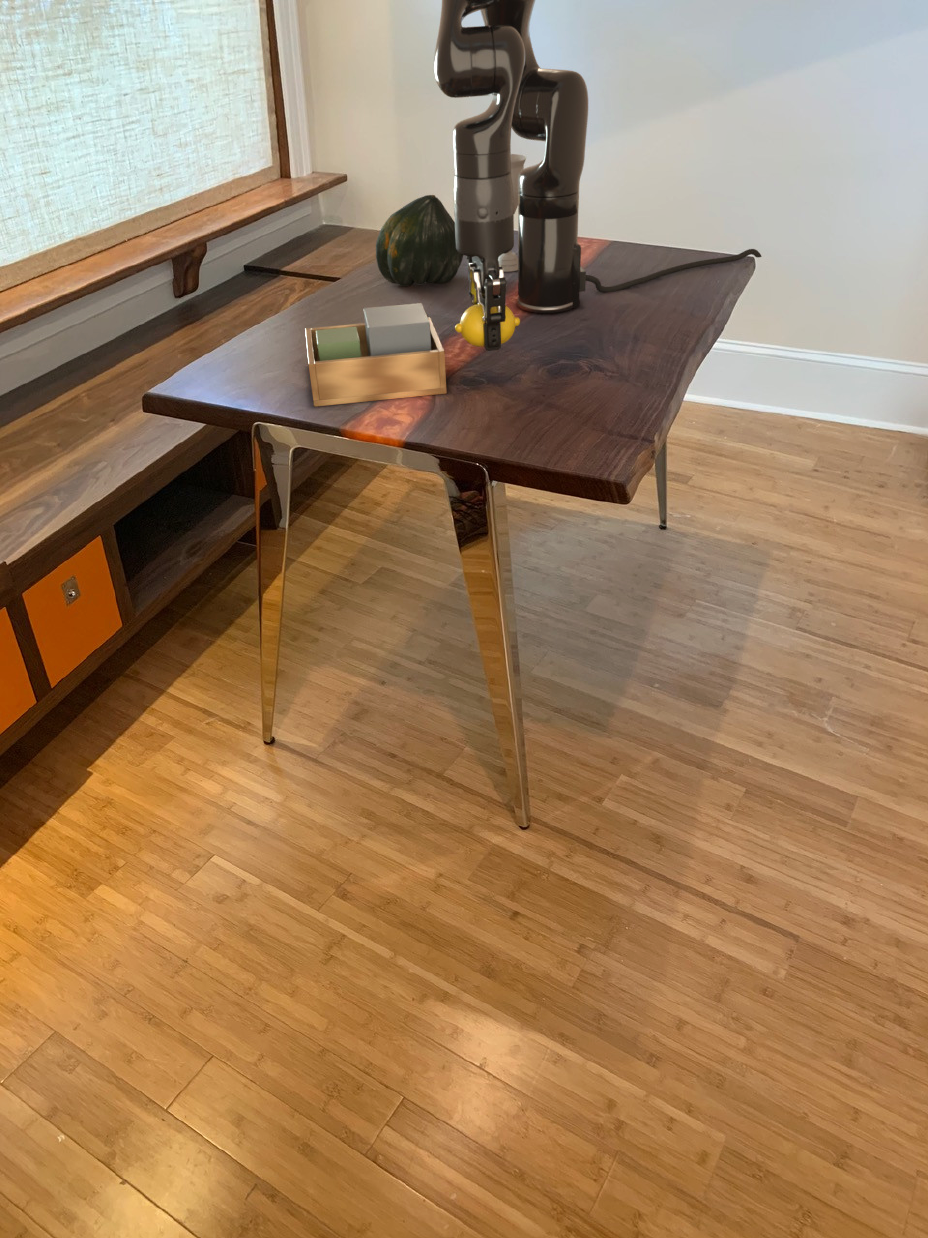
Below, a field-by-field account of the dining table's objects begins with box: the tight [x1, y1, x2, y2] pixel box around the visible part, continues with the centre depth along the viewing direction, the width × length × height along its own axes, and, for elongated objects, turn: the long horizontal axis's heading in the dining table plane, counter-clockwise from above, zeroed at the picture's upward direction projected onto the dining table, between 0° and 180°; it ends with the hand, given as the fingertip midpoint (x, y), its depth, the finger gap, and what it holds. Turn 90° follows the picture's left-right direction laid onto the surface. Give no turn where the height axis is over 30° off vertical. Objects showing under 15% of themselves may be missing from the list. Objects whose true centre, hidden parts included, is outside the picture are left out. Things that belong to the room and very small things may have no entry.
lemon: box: [454, 304, 521, 348], centre depth 129 cm, size 9×6×6 cm, turn 101°
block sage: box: [316, 327, 361, 361], centre depth 128 cm, size 6×6×6 cm
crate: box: [304, 316, 447, 408], centre depth 129 cm, size 18×14×6 cm
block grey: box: [363, 302, 431, 356], centre depth 128 cm, size 8×8×8 cm
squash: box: [375, 194, 464, 287], centre depth 162 cm, size 14×15×15 cm
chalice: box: [498, 153, 527, 273], centre depth 166 cm, size 7×7×18 cm
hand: (487, 340), depth 130 cm, fingers closed on lemon, 5 cm apart
